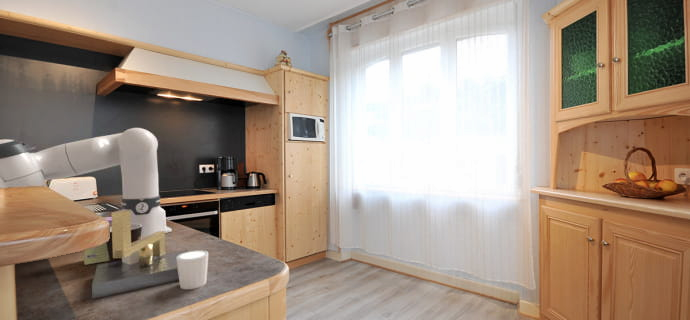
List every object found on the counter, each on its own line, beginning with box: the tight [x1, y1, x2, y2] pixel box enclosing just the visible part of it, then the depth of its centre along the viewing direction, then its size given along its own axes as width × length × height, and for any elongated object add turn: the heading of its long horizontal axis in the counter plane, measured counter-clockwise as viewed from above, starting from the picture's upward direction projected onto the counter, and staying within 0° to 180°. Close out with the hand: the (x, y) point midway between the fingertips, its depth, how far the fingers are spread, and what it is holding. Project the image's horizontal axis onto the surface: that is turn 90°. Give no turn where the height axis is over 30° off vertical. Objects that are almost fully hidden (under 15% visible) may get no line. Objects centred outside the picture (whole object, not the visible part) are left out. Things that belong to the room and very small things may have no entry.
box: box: [83, 216, 112, 266], centre depth 91 cm, size 10×6×12 cm, turn 125°
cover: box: [122, 251, 139, 265], centre depth 81 cm, size 4×4×3 cm
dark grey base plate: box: [91, 249, 189, 300], centre depth 78 cm, size 14×20×3 cm
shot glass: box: [176, 249, 209, 290], centre depth 74 cm, size 7×7×7 cm
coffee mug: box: [106, 224, 142, 263], centre depth 89 cm, size 12×9×10 cm
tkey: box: [110, 209, 166, 266], centre depth 76 cm, size 16×3×15 cm, turn 0°
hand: (47, 233), depth 63 cm, fingers closed
